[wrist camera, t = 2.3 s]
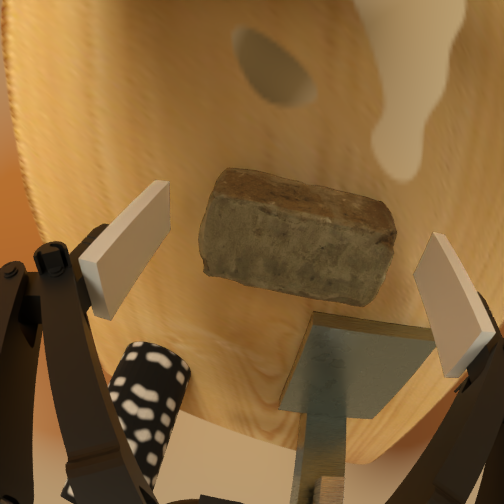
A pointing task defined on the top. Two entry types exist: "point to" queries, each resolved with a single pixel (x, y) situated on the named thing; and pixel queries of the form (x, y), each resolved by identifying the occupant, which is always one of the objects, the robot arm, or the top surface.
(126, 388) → the white-spotted black cylinder
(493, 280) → the top surface
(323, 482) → the hammer
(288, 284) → the stone block
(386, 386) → the press
